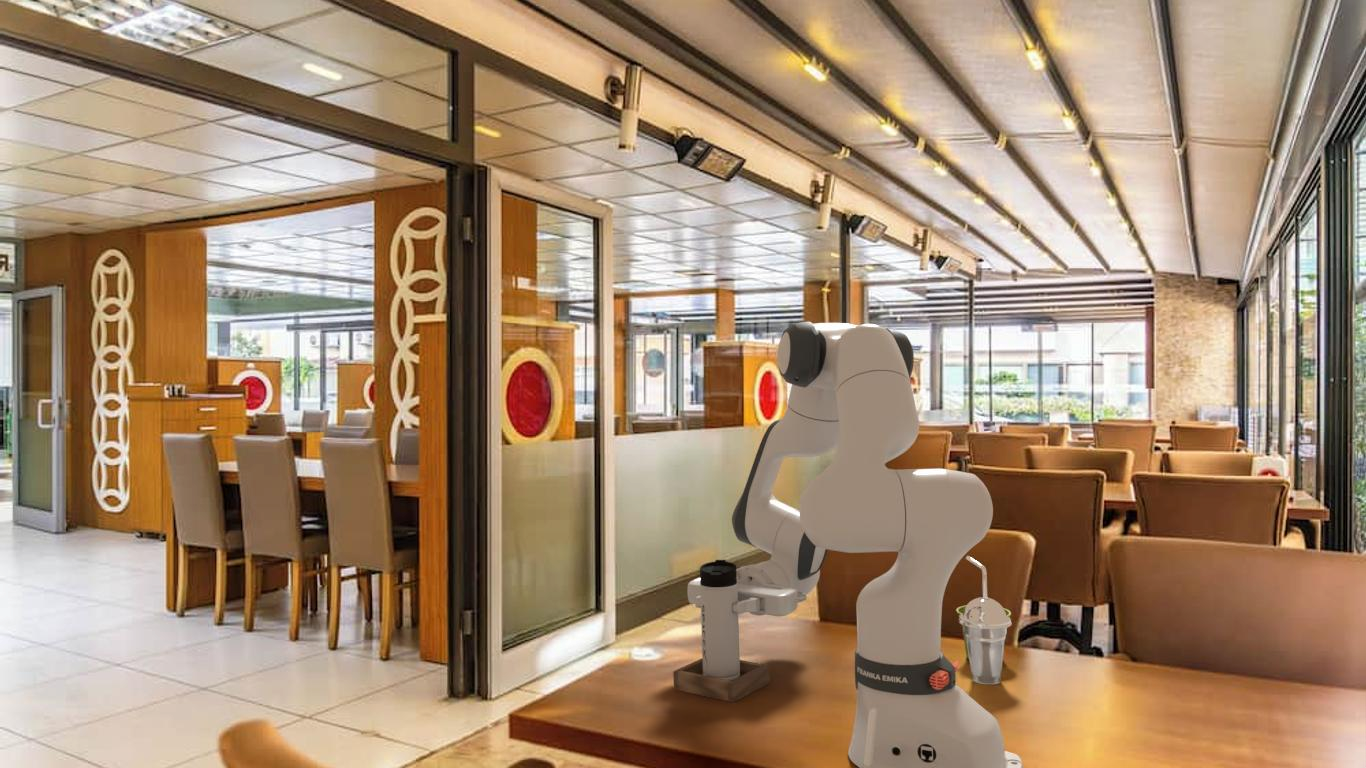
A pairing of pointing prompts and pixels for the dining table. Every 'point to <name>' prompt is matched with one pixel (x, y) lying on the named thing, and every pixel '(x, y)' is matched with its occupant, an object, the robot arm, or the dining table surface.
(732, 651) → the travel mug
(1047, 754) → the dining table surface
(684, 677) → the open wooden tray
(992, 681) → the cup with straw
